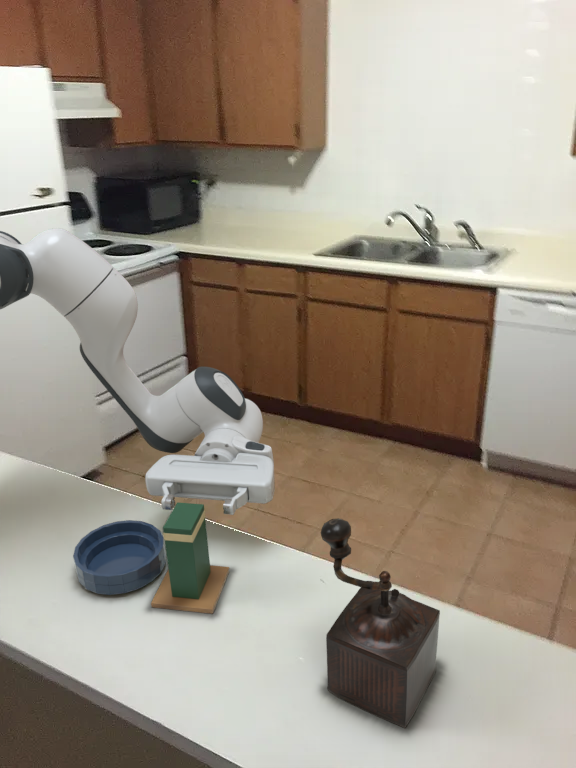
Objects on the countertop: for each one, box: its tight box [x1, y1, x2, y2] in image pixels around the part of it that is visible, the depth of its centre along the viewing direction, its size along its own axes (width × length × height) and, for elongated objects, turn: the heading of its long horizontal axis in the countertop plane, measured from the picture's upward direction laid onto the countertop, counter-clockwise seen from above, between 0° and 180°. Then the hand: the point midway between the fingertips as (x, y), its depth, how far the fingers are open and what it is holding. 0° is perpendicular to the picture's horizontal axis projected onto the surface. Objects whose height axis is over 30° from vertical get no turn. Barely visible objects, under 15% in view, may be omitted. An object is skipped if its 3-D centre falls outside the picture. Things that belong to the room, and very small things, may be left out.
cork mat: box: [150, 564, 230, 615], centre depth 97 cm, size 9×9×1 cm
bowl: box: [72, 519, 167, 596], centre depth 101 cm, size 13×13×4 cm
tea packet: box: [162, 502, 211, 599], centre depth 95 cm, size 4×6×12 cm
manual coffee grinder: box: [320, 517, 441, 729], centre depth 79 cm, size 16×11×18 cm
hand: (196, 508), depth 98 cm, fingers open, 8 cm apart
